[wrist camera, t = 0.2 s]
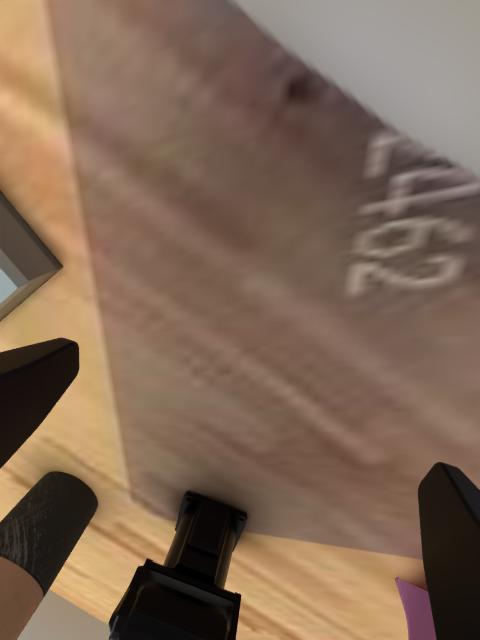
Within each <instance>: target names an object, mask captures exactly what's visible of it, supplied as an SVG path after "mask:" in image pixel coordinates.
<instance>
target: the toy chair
mask: <svg viewBox="0 0 480 640" xmlns="http://www.w3.org/2000/svg"><path fill="white" fill-rule="evenodd" d="M395 581H396V584H397V587H398V590H399V593H400V596H401V600H402V603H403V607H404V610H405V614H406V619H407V624H408V638H409V640H436V634H435V628H434V622H433V617H432V611H431V605H430V600H429V594H428V591H426V590H423V589H421V588H419V587H417V586H415V585H413V584H411V583H409V582H406V581H404V580H402V579H400V578H398V577H397V578H396V579H395Z"/></svg>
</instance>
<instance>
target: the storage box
mask: <svg viewBox="0 0 480 640" xmlns="http://www.w3.org/2000/svg"><path fill="white" fill-rule="evenodd" d="M0 249H1V250H2V251H3V252H4V253H5V255H6V256H7V257H8V258H9V259H10V260H11V261H12V263H13V264H14V265H15V266H16V267H17V268H18V269H19V271H20V272H21V273H22V274H23V275H24V276H25V278H26V279H27V280H28V281H29V282H30V283H29V284H28V285H27V286H26V287H25V288H24V289H23V290H22V291H20V292H19V293H18V294H17V295H16V296H15V297H14V298H13V299H12V300H10V301H9V302H8V303H7V304H6V305H5V306H4V307H3V308H1V309H0V321H1V320H2V319H3V318H5V317H6V316H7V315H8V314H9V313H10V312H11V311H13V310H14V309H15V308H16V307H17V306H18V305H20V304H21V303H22V302H23V301H24V300H25V299H26V298H28V297H29V296H30V295H31V294H32V293H33V292H35V291H36V290H37V289H38V288H39V287H40V286H42V285H43V284H44V283H45V282H46V281H47V280H48V279H50V278H51V277H52V276H53V275H54V274H55V273H57V272H58V271H59V270H60V269H61V268H62V265H61V264H60V263H59V262H58V261H57V259H56V258H55V257H54V256H53V254H52V253H51V252H50V251H49V250H48V248H47V247H46V246H45V245H44V244H43V242H42V241H41V240H40V239H39V238H38V236H37V235H36V234H35V233H34V231H33V230H32V229H31V228H30V227H29V225H28V224H27V223H26V222H25V221H24V219H23V218H22V217H21V216H20V215H19V213H18V212H17V211H16V210H15V209H14V207H13V206H12V205H11V204H10V202H9V201H8V200H7V199H6V198H5V196H4V195H3V194H2V193H1V192H0Z"/></svg>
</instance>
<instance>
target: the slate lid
mask: <svg viewBox="0 0 480 640" xmlns="http://www.w3.org/2000/svg"><path fill="white" fill-rule="evenodd" d="M29 283H30V282H29V281H28V280H27V279H26V278H25V276H24V275H23V274H22V273H21V272H20V271H19V269H18V268H17V267H16V266H15V265H14V264H13V263H12V261H11V260H10V259H9V258H8V257H7V256H6V255H5V253H4V252H3V251H2V250H1V249H0V309H1V308H3V307H4V306H5V305H6V304H7V303H8V302H9V301H10V300H12V299H13V298H14V297H15V296H16V295H17V294H18V293H19V292H20V291H22V290H23V289H24V288H25V287H26V286H27V285H28V284H29Z"/></svg>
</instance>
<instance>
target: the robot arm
mask: <svg viewBox="0 0 480 640" xmlns="http://www.w3.org/2000/svg"><path fill="white" fill-rule="evenodd" d="M78 371H79V346H78V344H77V343H76V342H75V341H72V340H69V339H66V338H57V339H53V340H49V341H45V342H41V343H37V344H33V345H29V346H24V347H20V348H16V349H12V350H8V351H4V352H0V469H1V467H2V466H3V465H4V464H5V463H6V462H7V461H8V460H9V459H10V458H11V456H12V455H13V454H14V453H15V452H16V451H17V450H18V449H19V448H20V447H21V446H22V444H23V443H24V442H25V441H26V440H27V439H28V438H29V437H30V436H31V435H32V433H33V432H34V431H35V430H36V429H37V428H38V427H39V425H40V424H41V423H42V422H43V420H44V419H45V418H46V417H47V415H48V414H49V413H50V411H51V410H52V408H53V407H54V406H55V404H56V403H57V402H58V400H59V399H60V398H61V396H62V395H63V394H64V392H65V391H66V390H67V388H68V387H69V386H70V384H71V383H72V382H73V380H74V379H75V378H76V376H77V374H78ZM418 501H419V515H420V529H421V542H422V555H423V564H424V570H425V577H426V583H427V588H428V594H429V600H430V605H431V611H432V617H433V622H434V628H435V634H436V640H480V490H479V489H478V488H477V487H476V486H475V485H474V484H473V483H472V482H471V481H470V479H469V478H468V477H467V476H466V475H465V474H464V473H463V472H462V471H461V470H460V469H459V468H457V467H455V466H452V465H449V464H446V463H443V462H437V463H435V464H434V466H433V467H432V468H431V469H430V471H429V472H428V473H427V475H426V476H425V477H424V479H423V480H422V481H421V483H420V485H419V488H418ZM246 521H247V514H246V513H244V512H241V511H239V510H236V509H233V508H231V507H228V506H225V505H223V504H220V503H217V502H215V501H212V500H209V499H207V498H204V497H201V496H199V495H196V494H193V493H191V492H186V493H185V495H184V497H183V501H182V505H181V509H180V512H179V516H178V520H177V524H176V528H175V531H176V534H175V536H174V539H173V542H172V544H171V547H170V549H169V552H168V554H167V557H166V560H165V562H164V565H160V564H157V563H155V562H153V560H151V559H148V558H147V560H146V562H145V564H144V566H138V568H137V570H136V572H135V574H134V577H133V579H132V581H131V583H130V585H129V587H128V589H127V591H126V592H125V594H124V596H123V597H122V599H121V601H120V602H119V604H118V606H117V607H116V609H115V611H114V612H113V614H112V616H111V618H110V621H109V627H110V632H111V634H110V637H109V640H236V632H237V625H238V617H239V609H240V602H241V594H239V593H236V592H235V593H232V592H230V591H227V590H225V589H224V587H225V582H226V578H227V574H228V569H229V565H230V560H231V556H232V552H234V549H235V547H236V545H237V542H238V540H239V538H240V535H241V533H242V531H243V528H244V526H245V524H246Z"/></svg>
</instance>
